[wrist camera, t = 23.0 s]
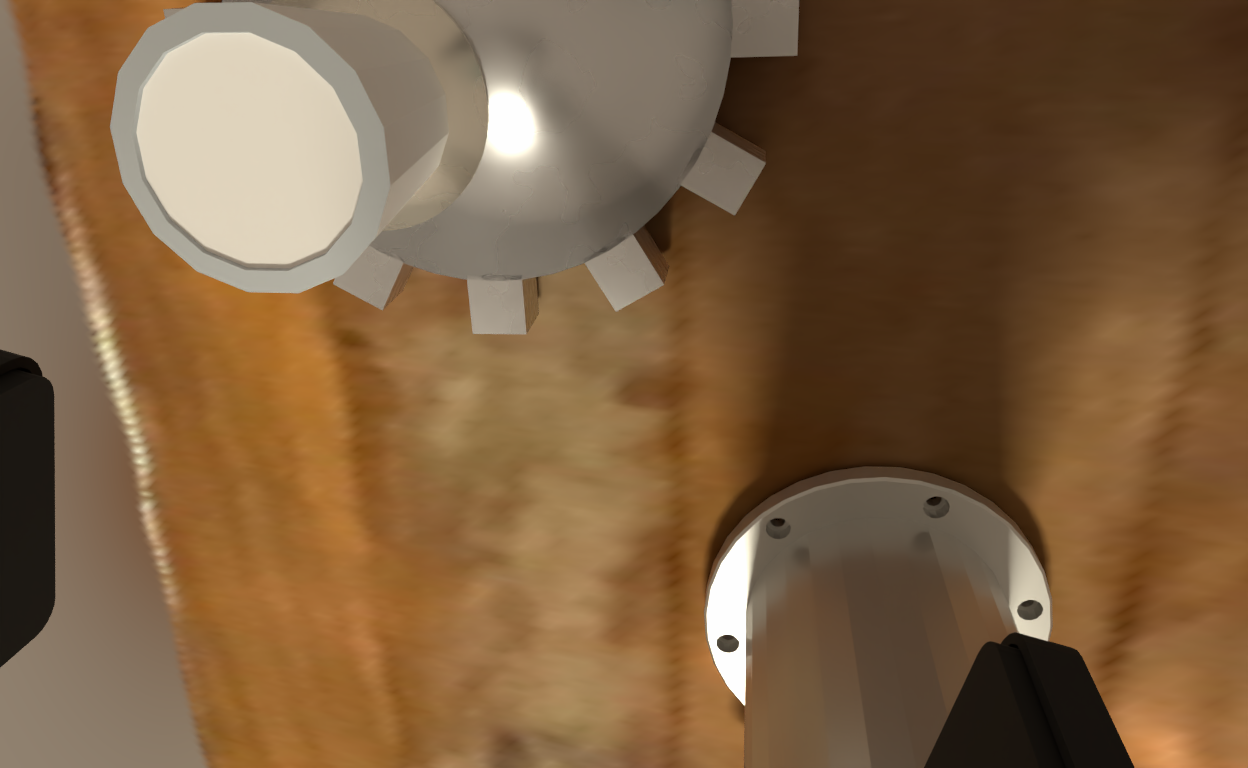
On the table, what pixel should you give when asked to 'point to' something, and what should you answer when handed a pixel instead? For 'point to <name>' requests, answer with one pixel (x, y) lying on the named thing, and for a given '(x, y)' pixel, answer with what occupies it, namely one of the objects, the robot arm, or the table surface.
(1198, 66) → the table surface
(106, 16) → the table surface
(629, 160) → the index wheel
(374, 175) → the white cup
